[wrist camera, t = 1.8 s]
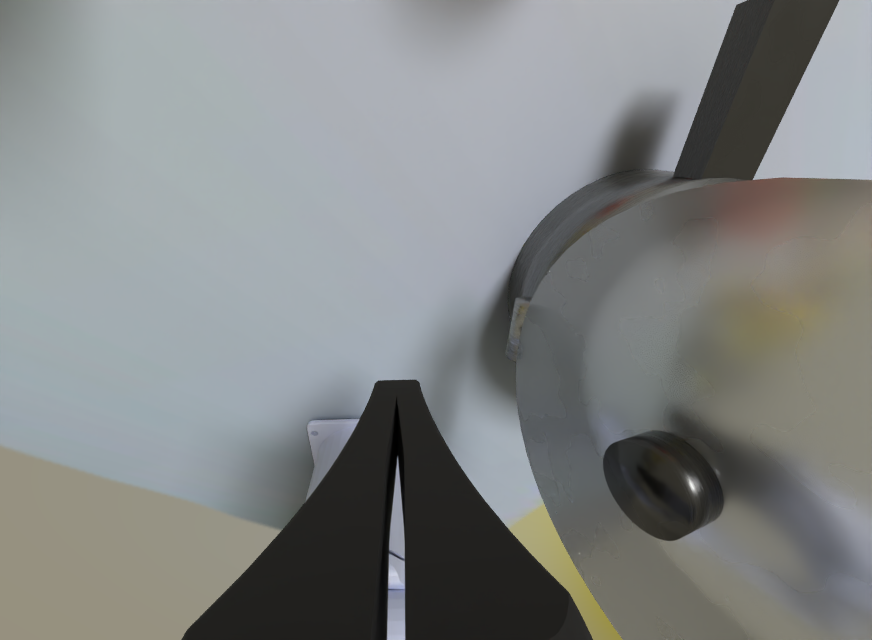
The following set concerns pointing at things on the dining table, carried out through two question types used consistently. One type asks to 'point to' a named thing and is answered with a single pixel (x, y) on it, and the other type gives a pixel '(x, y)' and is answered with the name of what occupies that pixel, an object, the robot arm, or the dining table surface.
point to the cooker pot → (699, 129)
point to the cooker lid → (711, 410)
